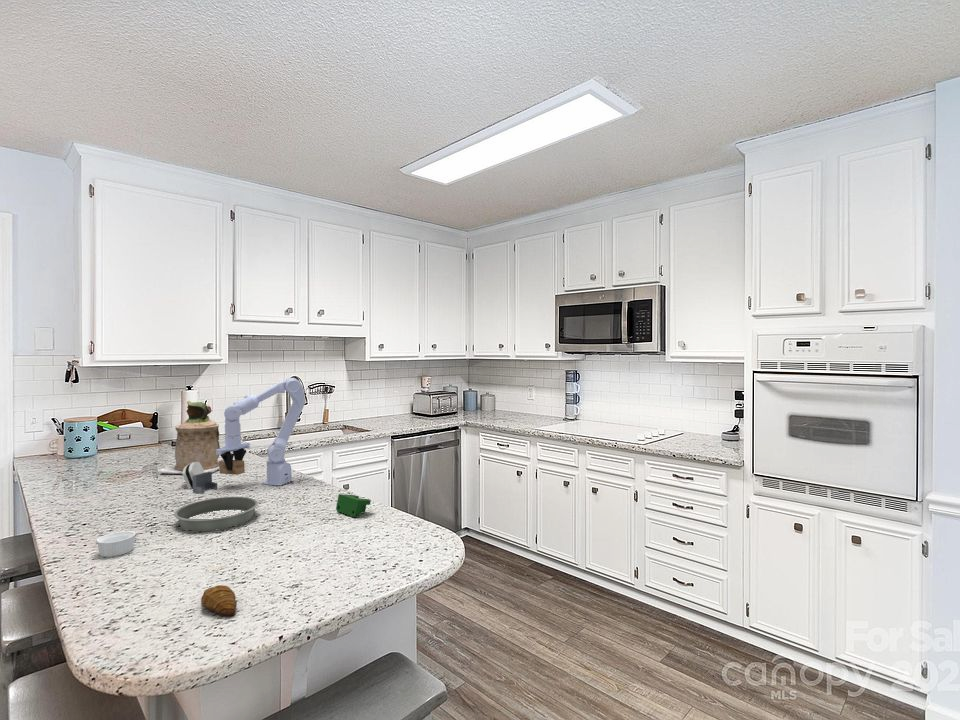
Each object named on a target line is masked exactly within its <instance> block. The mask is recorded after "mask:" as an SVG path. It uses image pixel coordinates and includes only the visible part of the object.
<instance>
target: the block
mask: <svg viewBox="0 0 960 720" xmlns="http://www.w3.org/2000/svg"><path fill="white" fill-rule="evenodd" d="M220 460H221V461H219V470H218V472H219V474H221V475H222V474H223V475H236V476H237V475H242V474H245V473H246V471H245V460H235V459H233V467H232V470H231V471H229V470H227V468H226V465H225V462H224V460H223V459H220Z"/></svg>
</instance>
